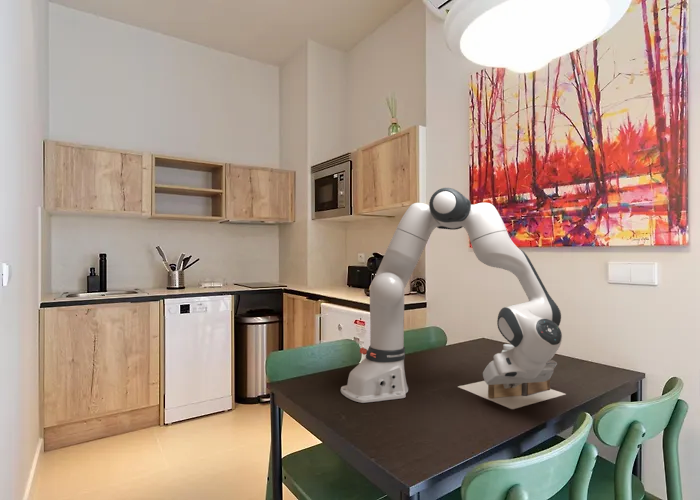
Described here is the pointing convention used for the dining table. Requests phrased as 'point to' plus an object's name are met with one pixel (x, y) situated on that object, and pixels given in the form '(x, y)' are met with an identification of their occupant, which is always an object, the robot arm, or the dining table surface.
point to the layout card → (511, 401)
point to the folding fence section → (503, 391)
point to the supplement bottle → (507, 347)
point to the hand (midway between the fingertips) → (508, 386)
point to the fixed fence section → (535, 387)
